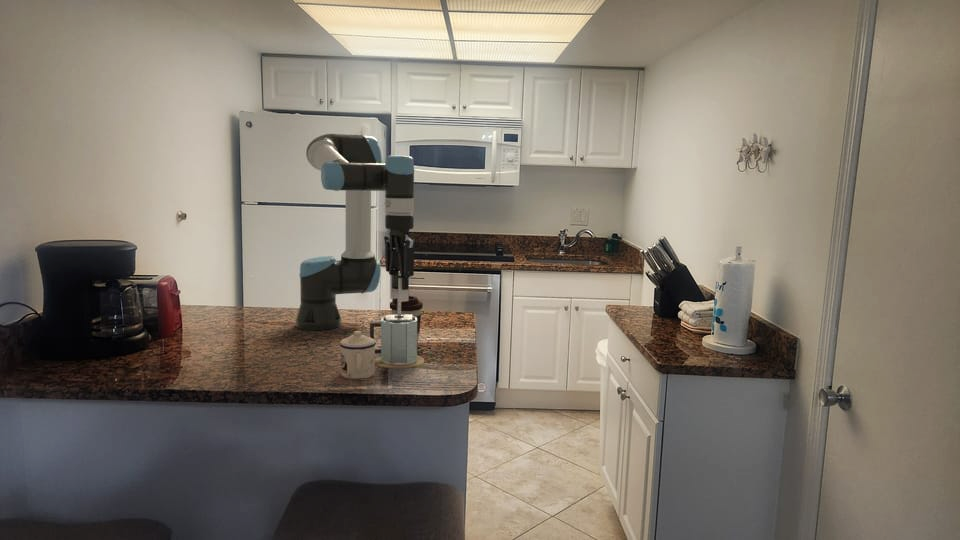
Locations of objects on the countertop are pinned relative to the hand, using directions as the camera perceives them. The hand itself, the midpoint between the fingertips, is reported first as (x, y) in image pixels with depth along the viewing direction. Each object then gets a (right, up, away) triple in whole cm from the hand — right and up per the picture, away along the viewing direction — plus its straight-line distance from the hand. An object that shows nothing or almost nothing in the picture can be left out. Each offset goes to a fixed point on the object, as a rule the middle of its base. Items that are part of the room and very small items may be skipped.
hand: (399, 299), depth 166 cm
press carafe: (-2, -17, +2) cm, 17 cm away
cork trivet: (0, -18, +3) cm, 18 cm away
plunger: (0, -12, +2) cm, 12 cm away
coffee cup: (-1, -15, +20) cm, 25 cm away
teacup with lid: (-9, -20, -10) cm, 24 cm away
